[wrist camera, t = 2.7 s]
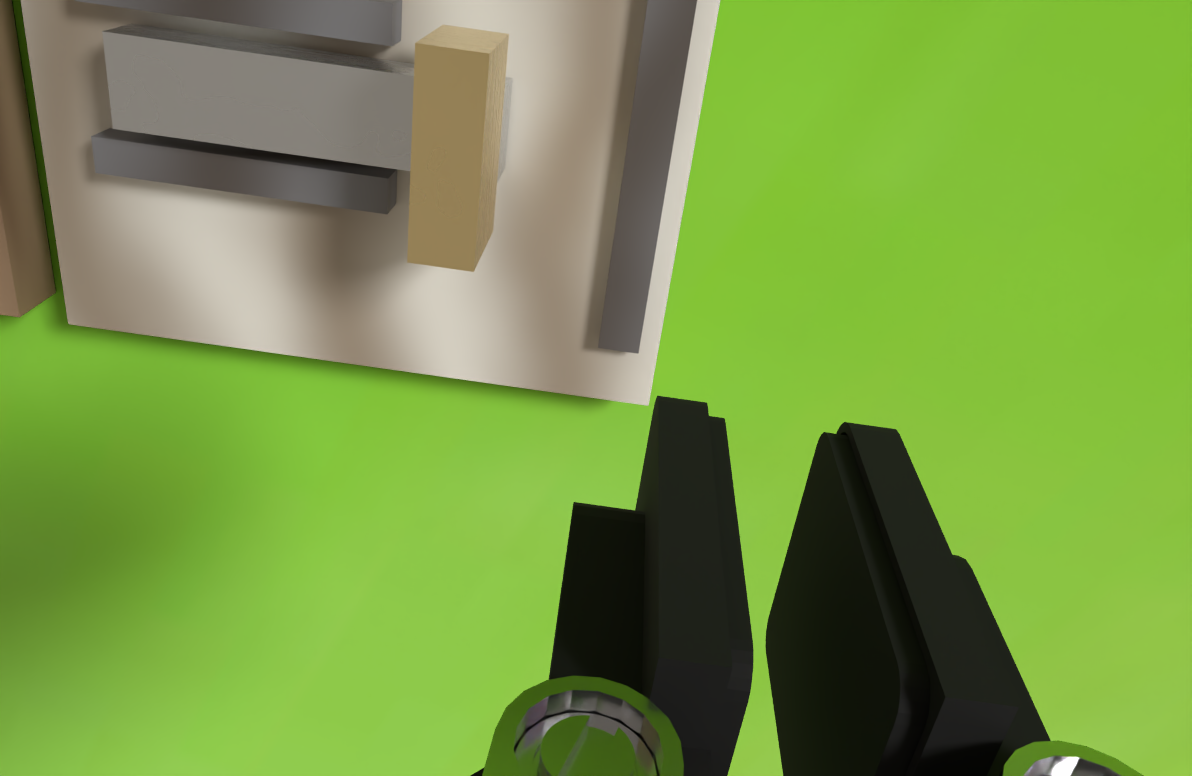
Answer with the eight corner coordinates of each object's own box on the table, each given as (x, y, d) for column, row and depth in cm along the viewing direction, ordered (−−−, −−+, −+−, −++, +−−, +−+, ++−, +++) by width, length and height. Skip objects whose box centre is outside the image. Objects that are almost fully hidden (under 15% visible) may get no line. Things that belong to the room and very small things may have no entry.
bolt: (517, 25, 24) (489, 53, 20) (501, 214, 27) (474, 272, 23) (126, -31, 24) (22, -14, 20) (145, 163, 27) (54, 212, 23)
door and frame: (747, -191, 24) (769, -208, 19) (649, 376, 31) (647, 461, 27) (-359, -352, 23) (-608, -410, 19) (-190, 258, 31) (-338, 323, 26)
